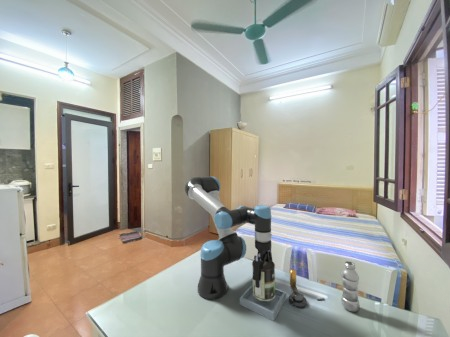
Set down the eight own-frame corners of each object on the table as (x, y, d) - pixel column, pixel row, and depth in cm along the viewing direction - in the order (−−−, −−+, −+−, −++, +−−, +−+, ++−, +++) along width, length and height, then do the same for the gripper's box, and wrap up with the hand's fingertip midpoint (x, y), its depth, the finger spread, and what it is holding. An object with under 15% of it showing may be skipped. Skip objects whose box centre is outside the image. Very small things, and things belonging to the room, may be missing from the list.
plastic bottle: (360, 316, 78) (360, 268, 78) (341, 310, 81) (340, 264, 81) (359, 306, 83) (358, 262, 83) (341, 301, 87) (341, 258, 87)
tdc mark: (317, 300, 87) (317, 300, 87) (316, 299, 88) (316, 298, 88) (325, 300, 88) (325, 299, 88) (323, 298, 89) (323, 298, 89)
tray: (239, 304, 85) (239, 297, 85) (255, 286, 98) (255, 280, 98) (273, 321, 76) (273, 313, 76) (286, 298, 89) (286, 292, 89)
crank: (304, 302, 84) (304, 283, 84) (293, 302, 85) (293, 283, 85) (297, 285, 96) (297, 269, 96) (287, 285, 97) (287, 268, 96)
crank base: (286, 303, 86) (286, 300, 86) (291, 293, 92) (291, 291, 92) (304, 310, 81) (304, 308, 81) (308, 300, 88) (308, 297, 88)
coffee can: (274, 287, 91) (274, 259, 91) (276, 302, 81) (275, 270, 81) (253, 285, 93) (252, 257, 93) (252, 300, 83) (251, 268, 83)
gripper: (259, 250, 76) (260, 305, 76) (279, 234, 94) (279, 278, 94) (243, 245, 80) (244, 297, 80) (265, 231, 98) (265, 273, 98)
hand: (263, 287), depth 87 cm, fingers closed on coffee can, 10 cm apart
